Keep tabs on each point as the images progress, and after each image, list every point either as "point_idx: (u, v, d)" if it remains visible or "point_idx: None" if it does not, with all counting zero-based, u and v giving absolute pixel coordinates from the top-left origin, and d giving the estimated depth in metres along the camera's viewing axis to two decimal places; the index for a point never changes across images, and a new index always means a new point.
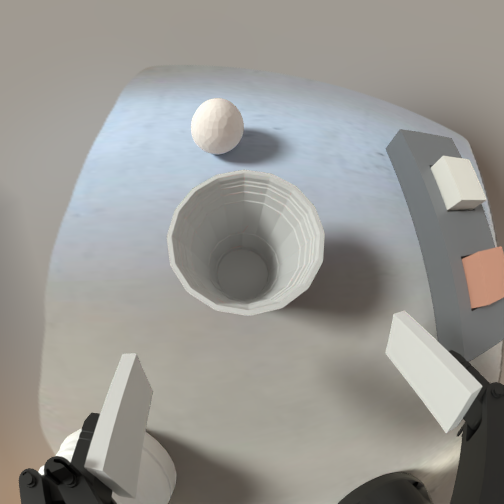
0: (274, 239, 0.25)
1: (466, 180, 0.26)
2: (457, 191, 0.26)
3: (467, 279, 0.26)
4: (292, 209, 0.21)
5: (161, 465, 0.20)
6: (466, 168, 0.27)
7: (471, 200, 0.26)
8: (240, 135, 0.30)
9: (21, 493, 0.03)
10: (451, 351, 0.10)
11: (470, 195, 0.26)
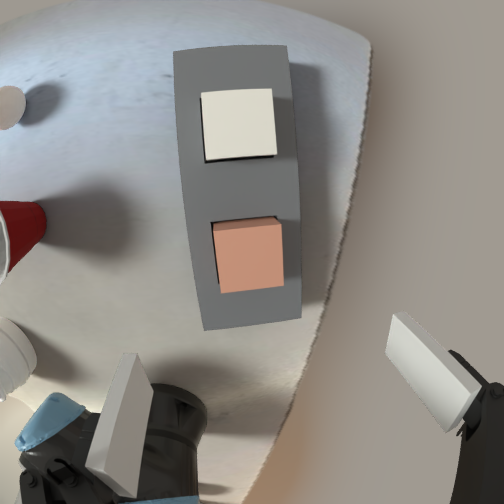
0: None
1: (237, 126, 0.23)
2: None
3: None
4: None
5: (19, 347, 0.32)
6: (251, 105, 0.22)
7: (232, 157, 0.23)
8: (16, 113, 0.21)
9: (22, 493, 0.03)
10: (450, 351, 0.10)
11: (232, 150, 0.23)
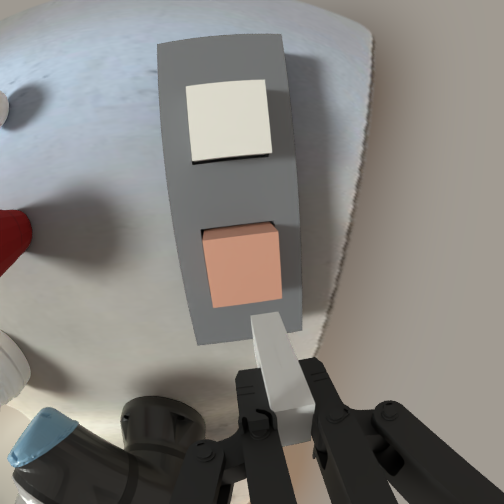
0: None
1: (226, 122, 0.20)
2: None
3: None
4: None
5: (11, 358, 0.29)
6: (242, 98, 0.19)
7: (221, 157, 0.21)
8: None
9: (183, 464, 0.06)
10: (313, 358, 0.11)
11: (222, 149, 0.20)
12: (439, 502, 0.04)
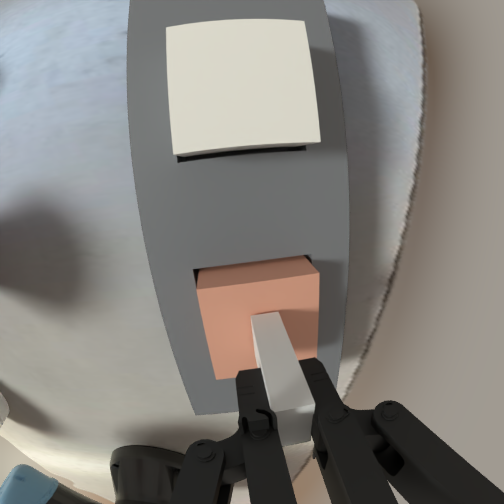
0: None
1: (238, 84, 0.10)
2: (171, 127, 0.10)
3: None
4: None
5: None
6: (266, 45, 0.10)
7: (228, 147, 0.11)
8: None
9: (183, 464, 0.06)
10: (313, 358, 0.11)
11: (229, 133, 0.11)
12: (439, 502, 0.04)
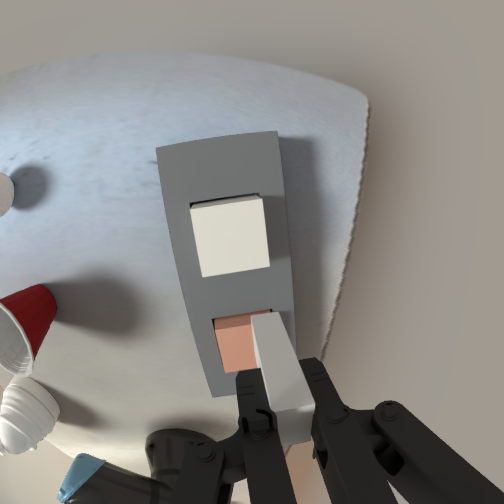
0: None
1: (229, 243, 0.25)
2: (200, 264, 0.25)
3: None
4: None
5: (43, 403, 0.34)
6: (242, 219, 0.24)
7: None
8: (6, 203, 0.23)
9: (183, 464, 0.06)
10: (313, 358, 0.11)
11: (227, 267, 0.25)
12: (439, 502, 0.04)
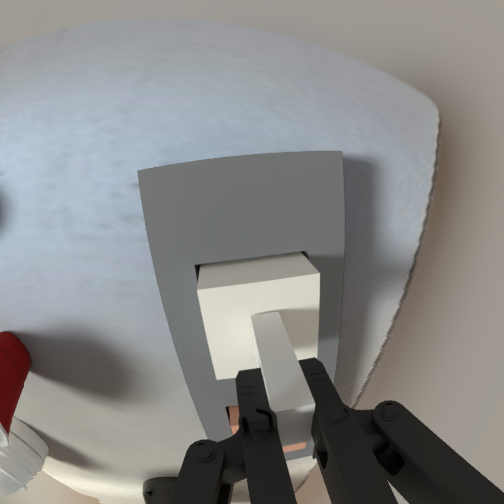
0: None
1: None
2: (213, 363, 0.15)
3: None
4: None
5: (29, 444, 0.24)
6: (284, 306, 0.14)
7: None
8: None
9: (183, 464, 0.06)
10: (313, 358, 0.11)
11: (254, 368, 0.16)
12: (439, 502, 0.04)
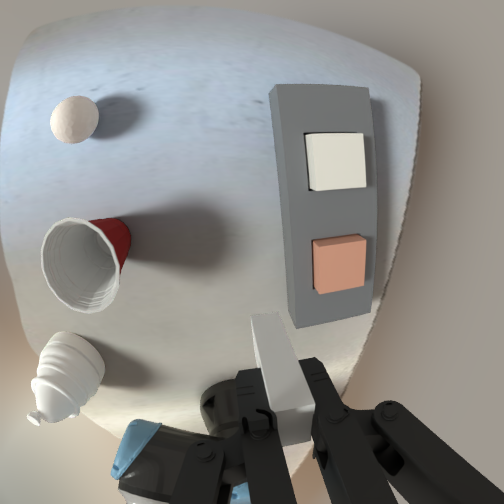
0: None
1: (339, 164, 0.28)
2: (314, 179, 0.29)
3: (312, 258, 0.35)
4: None
5: (90, 360, 0.39)
6: (349, 147, 0.28)
7: None
8: (92, 126, 0.27)
9: (184, 464, 0.06)
10: (313, 358, 0.11)
11: (336, 183, 0.29)
12: (439, 502, 0.04)
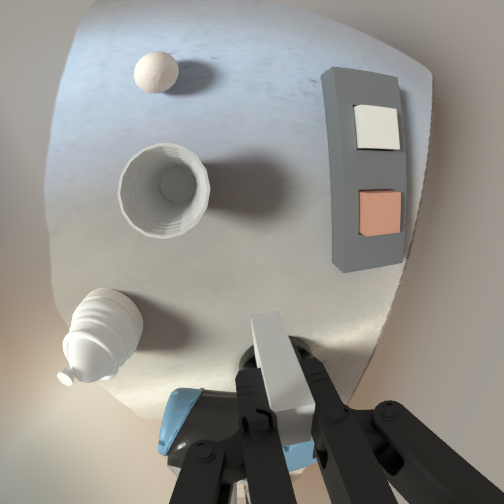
0: (193, 170, 0.34)
1: (380, 129, 0.33)
2: (363, 139, 0.34)
3: None
4: (195, 165, 0.30)
5: (132, 316, 0.42)
6: (387, 117, 0.33)
7: (378, 148, 0.34)
8: (174, 79, 0.31)
9: (183, 464, 0.06)
10: (313, 358, 0.11)
11: (378, 144, 0.34)
12: (439, 502, 0.04)
